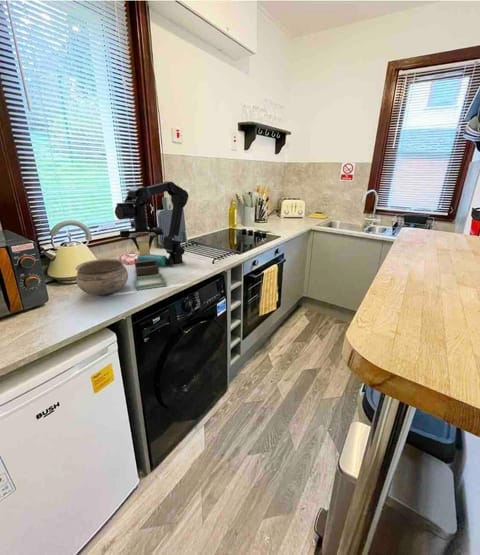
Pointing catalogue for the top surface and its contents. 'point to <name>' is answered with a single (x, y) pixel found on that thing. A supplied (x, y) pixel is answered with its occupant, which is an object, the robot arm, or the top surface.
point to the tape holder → (146, 268)
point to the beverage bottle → (157, 260)
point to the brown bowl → (101, 276)
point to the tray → (150, 284)
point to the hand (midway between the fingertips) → (144, 250)
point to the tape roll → (144, 248)
